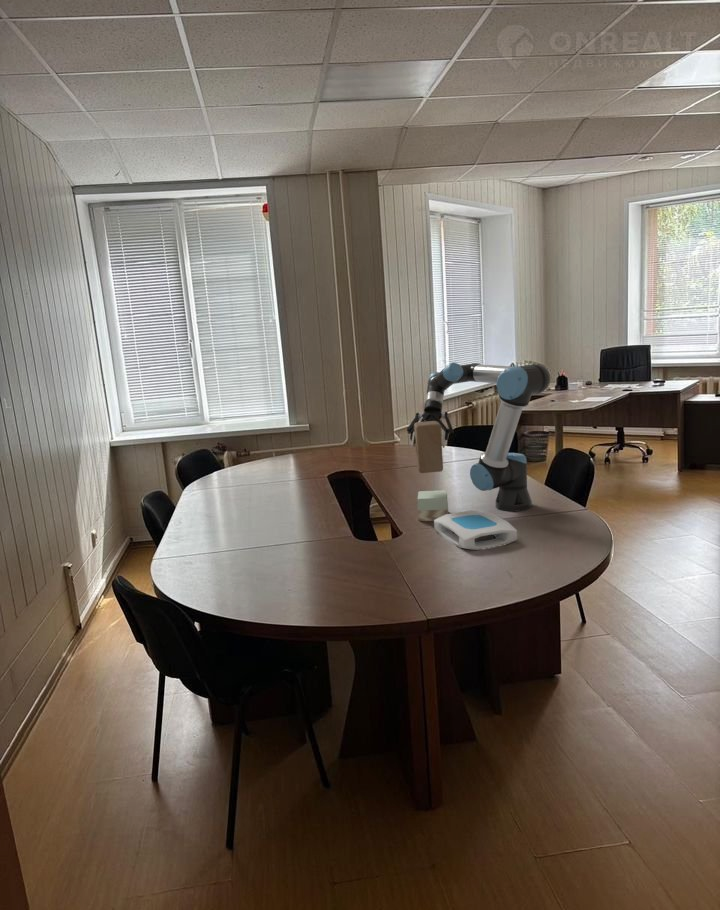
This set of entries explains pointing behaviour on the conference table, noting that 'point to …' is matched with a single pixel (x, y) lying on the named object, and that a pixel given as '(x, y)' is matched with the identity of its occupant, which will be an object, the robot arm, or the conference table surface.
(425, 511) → the tower lower slab
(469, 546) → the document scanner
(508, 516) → the conference table surface
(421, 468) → the block
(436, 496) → the tower upper slab
